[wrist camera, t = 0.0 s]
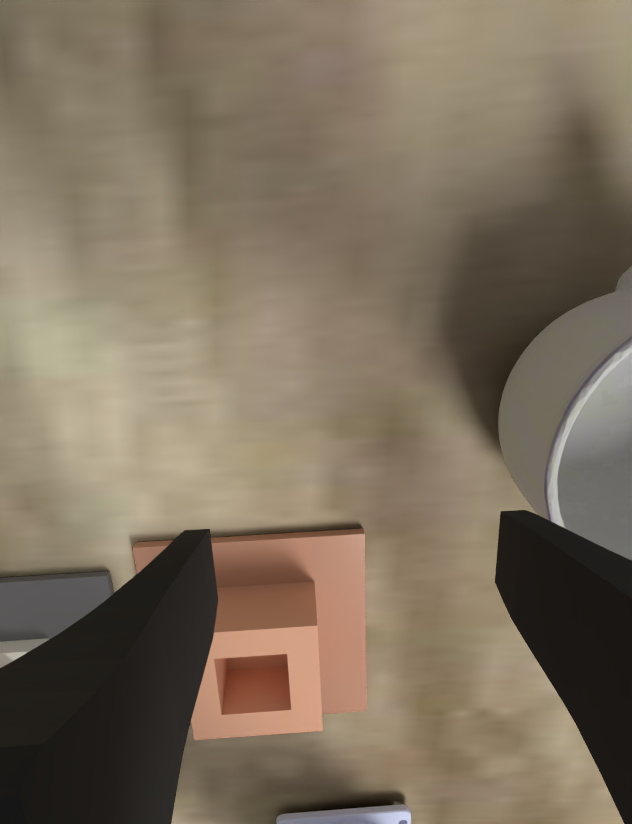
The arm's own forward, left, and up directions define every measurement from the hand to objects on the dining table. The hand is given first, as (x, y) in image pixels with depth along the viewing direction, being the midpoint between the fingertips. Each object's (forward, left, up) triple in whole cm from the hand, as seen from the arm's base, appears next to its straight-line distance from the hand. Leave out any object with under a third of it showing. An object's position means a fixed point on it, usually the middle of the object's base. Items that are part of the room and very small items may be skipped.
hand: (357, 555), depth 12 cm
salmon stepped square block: (-11, +4, -10) cm, 16 cm away
